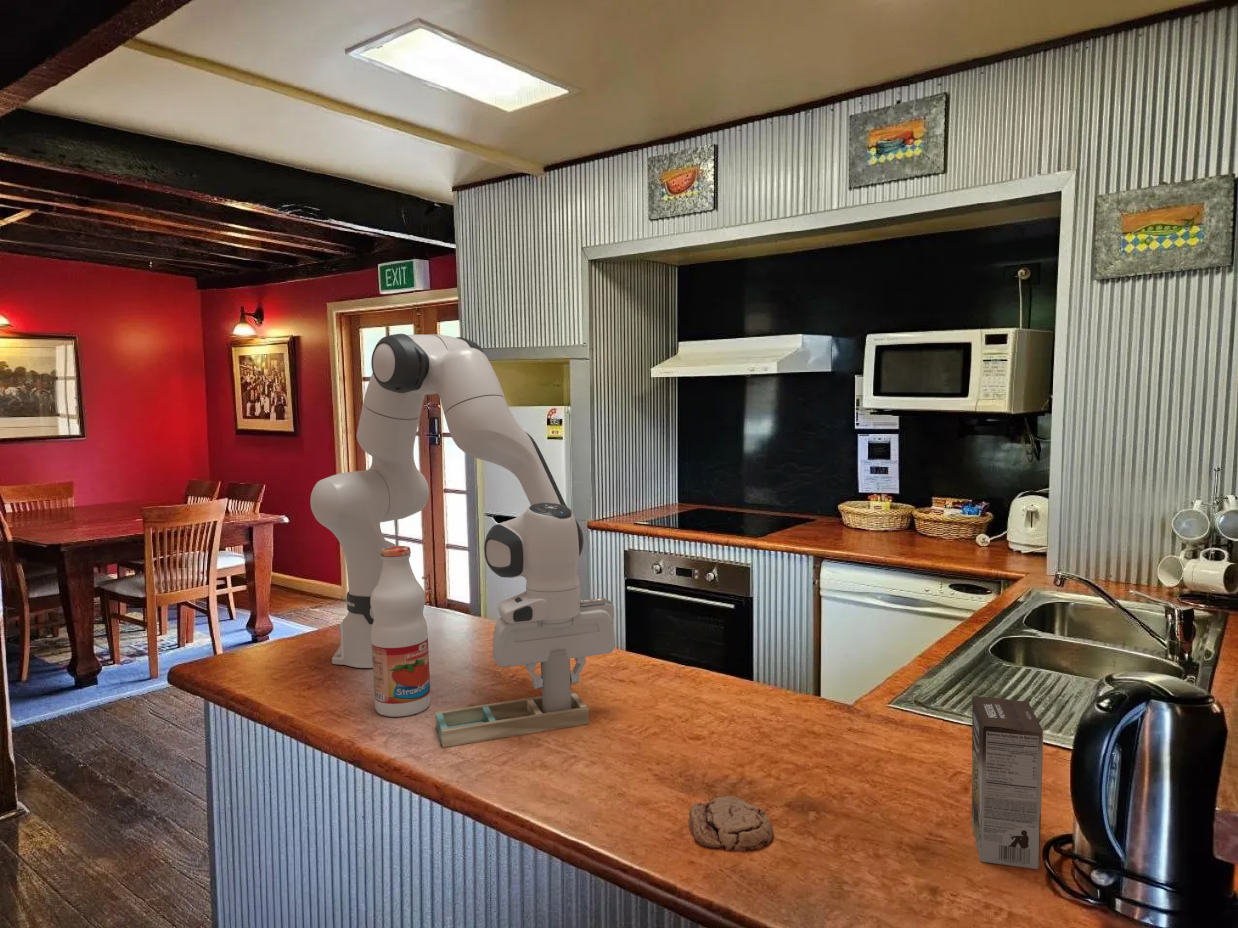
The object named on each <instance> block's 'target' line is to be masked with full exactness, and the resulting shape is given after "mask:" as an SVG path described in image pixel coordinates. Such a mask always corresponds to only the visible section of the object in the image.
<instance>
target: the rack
mask: <svg viewBox="0 0 1238 928" xmlns="http://www.w3.org/2000/svg"><path fill="white" fill-rule="evenodd" d="M434 718H435V728H436V731H437V735H438V737H439V740H440V743H441V746H442V748H447V747H453V746H459V745H465V744H471V743H472V744H473V743H479V742H483V741H485V742H486V741H491V740H497V739H501V738H502V739H503V738H508V737H515V736H516V737H517V736H521V735H527V734H533V733H540V732H541V733H542V732H546V731H552V730H558V729H565V728H573V727H579V726H583V725H589V724H590V708H588V706H587V705H586V704H585V702H584V701H583V700H582V699H581V698H580V696H579V695H578V694H577V693H576V691H571V709H568V710H562V711H556V712H549V713H543V708H542V695H541V696H535V697H533V696H532V697H527V698H520V699H513V700H507V701H500V702H493V703H486V704H479V705H473V706H471V705H470V706H467V707H466V706H465V707H458V708H453V709H445V710H440V711H435V714H434Z"/></svg>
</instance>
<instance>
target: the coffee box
mask: <svg viewBox="0 0 1238 928" xmlns="http://www.w3.org/2000/svg"><path fill="white" fill-rule="evenodd" d="M971 700H972V707H971V708H972V712H971V713H972V717H971V719H972V724H971V726H972V727H971V728H972V730H971V731H972V732H971V734H972V735H971V736H972V737H971V742H972V743H971V747H972V749H971V826H972V831H973V835H974V838H975V844H976V848H977V852H978V858H979V860H980V862H982V863H988V864H994V865H1002V866H1003V865H1004V866H1010V867H1017V868H1023V869H1024V868H1025V869H1033V870H1039V869H1040V862H1041V861H1040V860H1041V857H1040V856H1041V854H1040V853H1041V852H1040V851H1041V829H1042V828H1041V826H1042V825H1041V823H1042V822H1041V821H1042V820H1041V819H1042V799H1043V798H1042V797H1043V796H1042V795H1043V794H1042V792H1043V790H1042V789H1043V764H1044V763H1043V762H1044V761H1043V760H1044V730H1043V728H1042V726H1041V724H1040V722H1039V720H1038V718H1037V716H1036V714H1035V712H1034V710H1033V708H1032V706H1031V704H1030V702H1029V700H1028V701H1027V700H1013V699H1012V700H1011V699H1008V698H1007V699H1006V698H1001V697H988V696H986V697H985V696H972V697H971Z"/></svg>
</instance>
